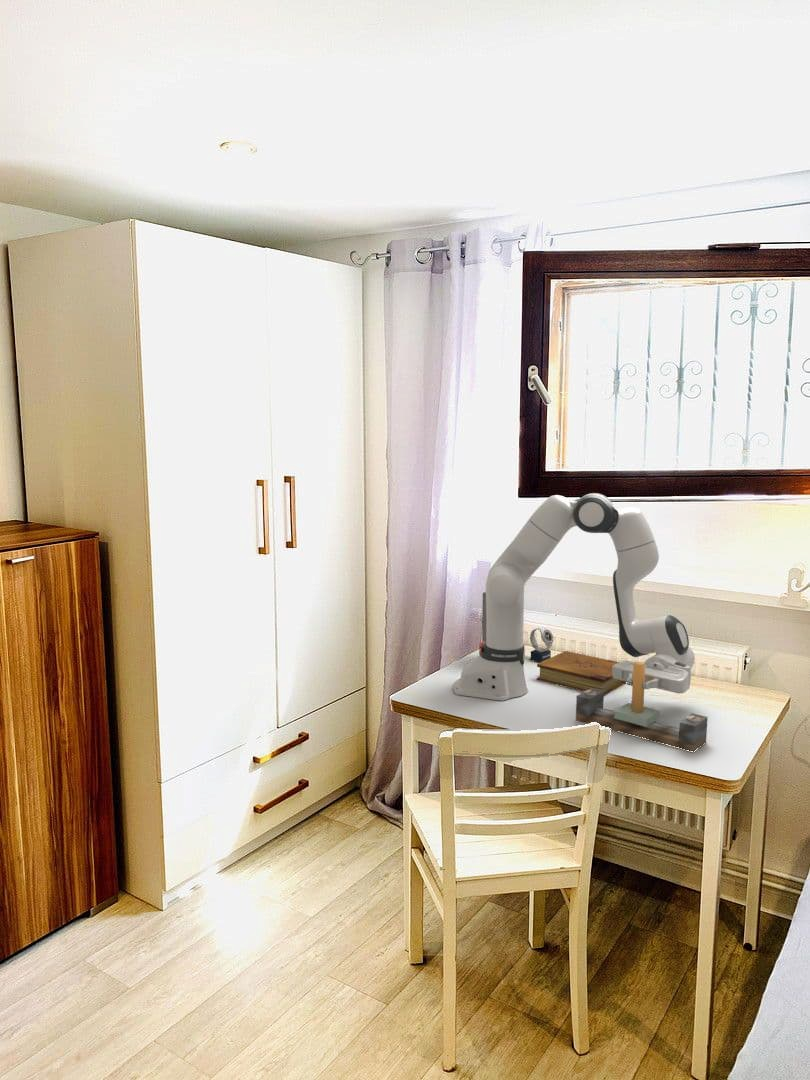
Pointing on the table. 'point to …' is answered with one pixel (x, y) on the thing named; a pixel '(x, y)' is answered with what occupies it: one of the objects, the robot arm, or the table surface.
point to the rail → (683, 737)
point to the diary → (579, 672)
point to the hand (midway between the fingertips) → (637, 684)
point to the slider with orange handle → (637, 701)
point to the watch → (541, 653)
